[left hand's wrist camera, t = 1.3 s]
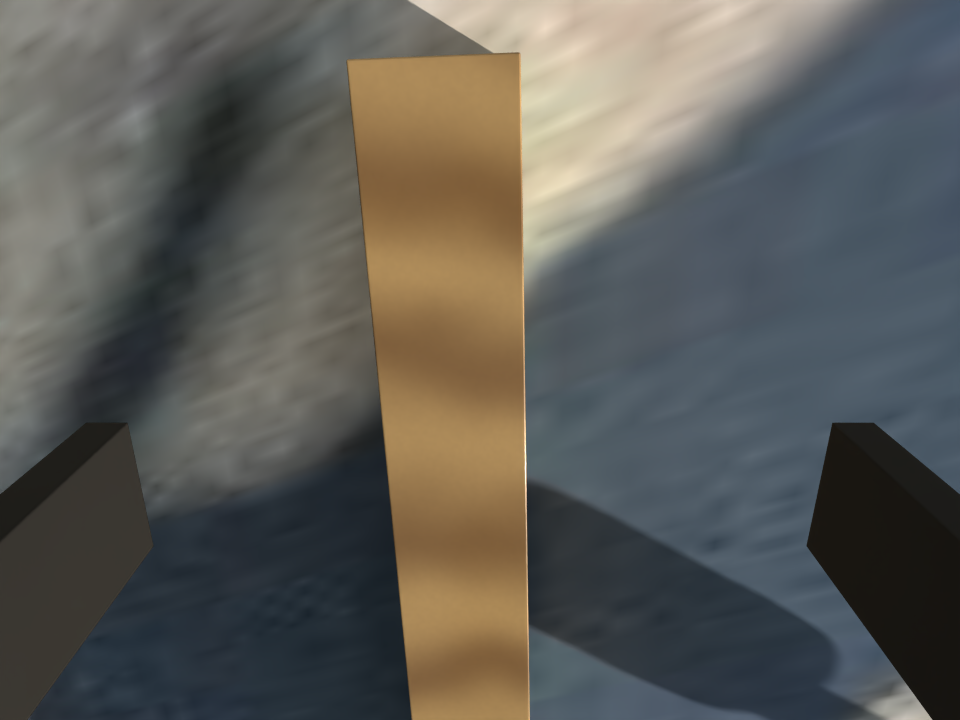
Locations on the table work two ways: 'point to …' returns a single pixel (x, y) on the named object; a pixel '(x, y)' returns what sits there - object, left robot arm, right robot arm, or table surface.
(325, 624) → the table surface
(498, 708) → the bar
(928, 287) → the table surface
